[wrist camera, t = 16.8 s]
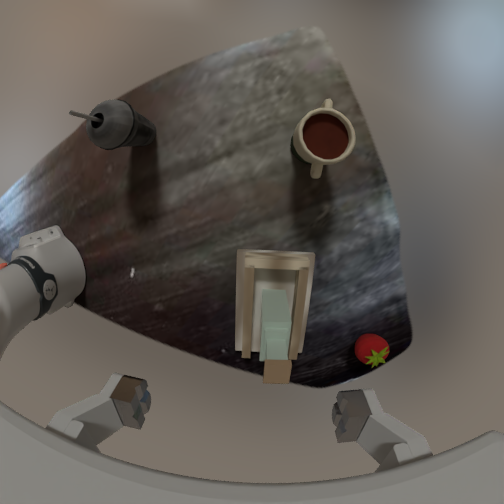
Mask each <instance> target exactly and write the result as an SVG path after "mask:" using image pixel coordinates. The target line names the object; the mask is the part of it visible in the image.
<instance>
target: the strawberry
mask: <svg viewBox="0 0 504 504" xmlns="http://www.w3.org/2000/svg"><path fill="white" fill-rule="evenodd" d="M388 354H389V346H388V343H387V342H386V341H385V340H384V339H383V338H381V337H380V336H378V335H376V334H363V335H361V336H360V337H359V338H358V340H357V341H356V343H355V355H356V357H357V358H358V359H359V360H360V361H361V362H363V363H365V364H373V365H372V367H373V366H374V365H375V364H376V366H377V365H378V363H380V362H382V363H385V361H384V360H385V358H386V357H387V356H388Z"/></svg>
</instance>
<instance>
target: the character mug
mask: <svg viewBox="0 0 504 504" xmlns="http://www.w3.org/2000/svg"><path fill="white" fill-rule="evenodd" d="M332 106H333V102H332V100H331V99H326V100H325V101H324V102H323V104H322V105H321V108H318V109H315V110H312V111H310V112H309V113H308V114H307V115H306V116H305V117H303V118H302V120H301V121H300V122H299V123H298V125H297V126H296V129H295V131H294V134H293V136H292V139H291V145H290V146H291V149H292V152H293V154H294V155H295V156H296V158H297V159H298V160H300V161H302V162H304V163H306V164H312V165H311V171H310V175H311V177H312V178H315V179H317V178H320V176H321V174H322V169H323V165H329V164H335V163H337V162H340V161H342V160H344V159H345V158H346V157H347V156H348V155H349V154H351V152H352V150H353V148H354V146H355V140H356V137H355V131H354V128H353V126H352V125H351V123H350V121H349V120H348V119H347V118H346V117H345V116H344V115H343V114H342V113H340V112H338V111H336V110H334V109H332Z"/></svg>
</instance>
